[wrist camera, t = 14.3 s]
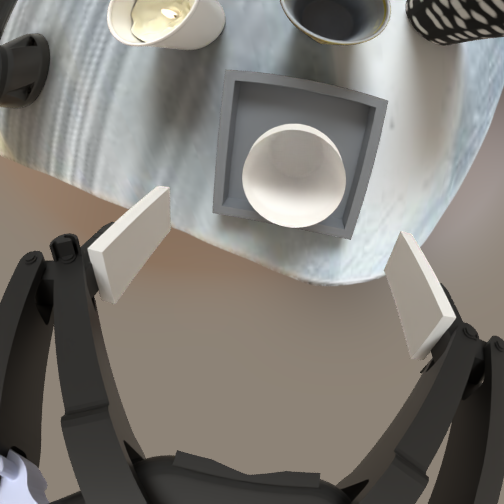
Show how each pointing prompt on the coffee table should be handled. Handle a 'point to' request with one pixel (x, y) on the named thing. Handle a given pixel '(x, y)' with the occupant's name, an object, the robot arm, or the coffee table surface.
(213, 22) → the candle holder
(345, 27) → the ceramic cup
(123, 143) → the coffee table surface
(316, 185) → the cup
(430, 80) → the coffee table surface
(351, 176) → the tray
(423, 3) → the spotted tube
